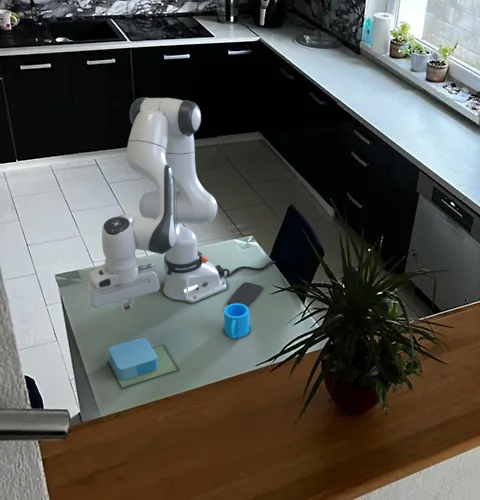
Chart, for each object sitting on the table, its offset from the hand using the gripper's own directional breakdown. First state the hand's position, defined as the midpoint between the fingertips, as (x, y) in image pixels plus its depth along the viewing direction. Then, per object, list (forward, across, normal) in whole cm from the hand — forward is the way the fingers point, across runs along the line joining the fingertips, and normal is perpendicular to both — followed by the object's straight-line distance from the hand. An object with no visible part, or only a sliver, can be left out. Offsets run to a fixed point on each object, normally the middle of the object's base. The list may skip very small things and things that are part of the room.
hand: (126, 309), depth 207 cm
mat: (+19, -2, +5) cm, 20 cm away
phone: (+20, -46, -15) cm, 52 cm away
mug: (+20, -34, +3) cm, 39 cm away
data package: (+17, +1, -3) cm, 17 cm away
